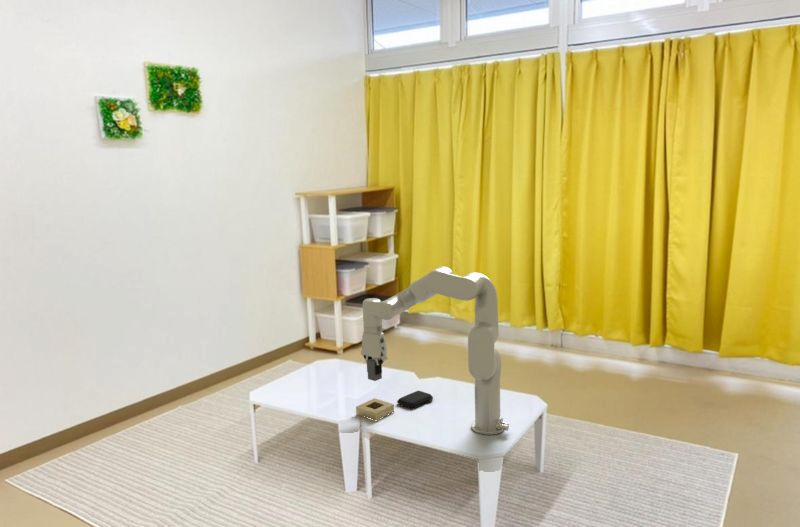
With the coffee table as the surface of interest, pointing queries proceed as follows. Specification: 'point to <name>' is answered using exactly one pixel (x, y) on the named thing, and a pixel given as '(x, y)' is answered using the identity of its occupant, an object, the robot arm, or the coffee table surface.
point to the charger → (372, 370)
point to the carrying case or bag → (415, 399)
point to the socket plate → (374, 409)
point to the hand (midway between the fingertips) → (374, 372)
